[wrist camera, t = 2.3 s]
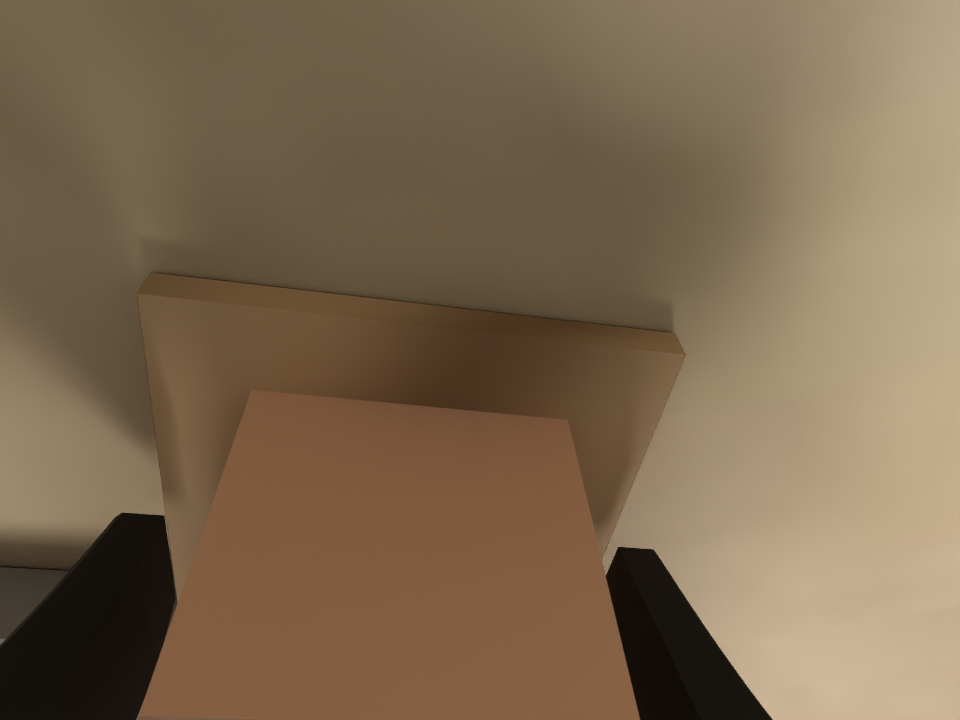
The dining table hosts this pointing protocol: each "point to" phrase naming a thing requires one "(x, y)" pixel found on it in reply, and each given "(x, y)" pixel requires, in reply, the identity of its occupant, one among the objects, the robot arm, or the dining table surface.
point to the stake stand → (386, 378)
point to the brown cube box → (394, 574)
